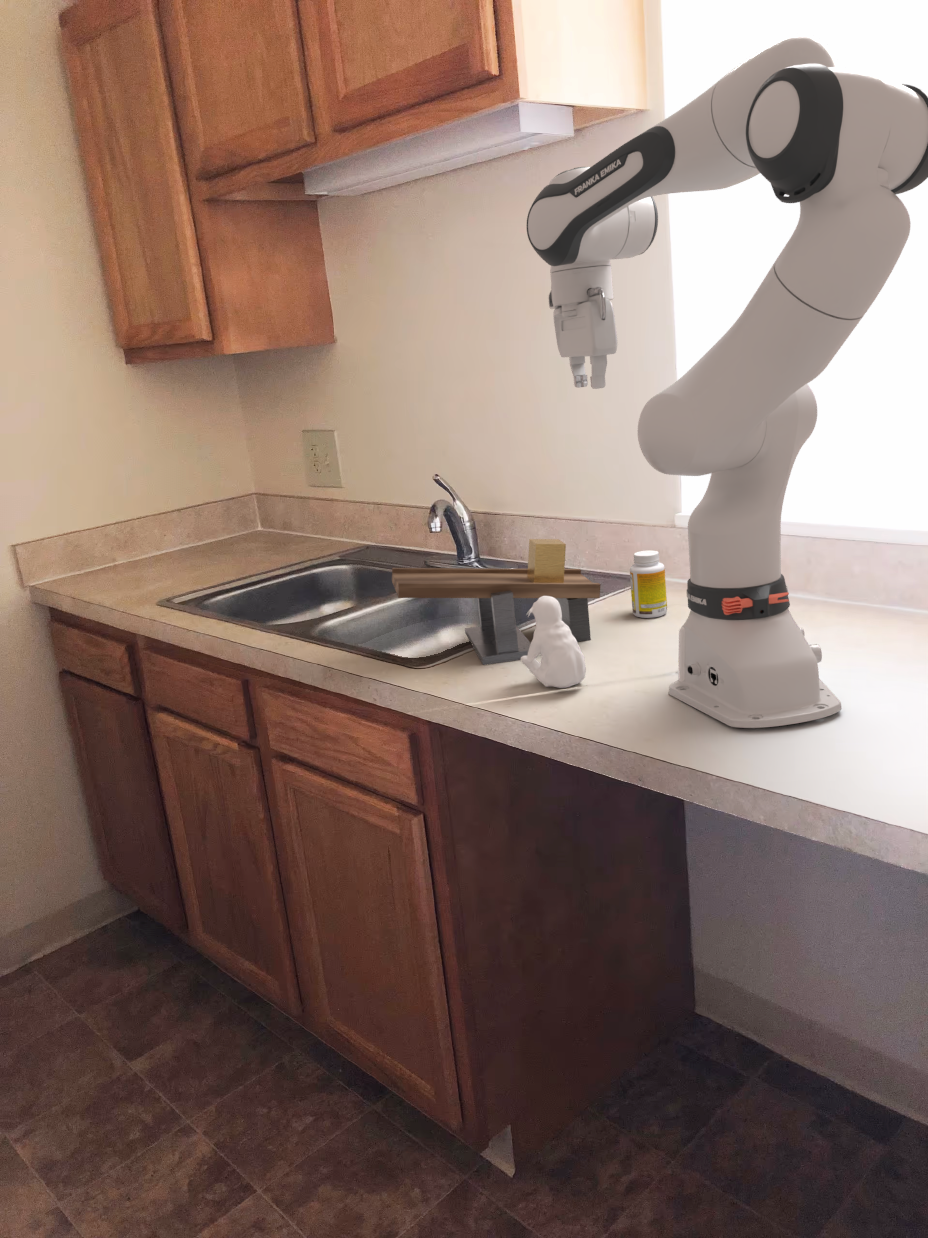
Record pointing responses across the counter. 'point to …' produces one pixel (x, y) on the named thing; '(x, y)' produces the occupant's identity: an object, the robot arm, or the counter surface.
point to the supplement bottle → (648, 585)
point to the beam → (487, 583)
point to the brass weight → (546, 560)
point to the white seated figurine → (554, 647)
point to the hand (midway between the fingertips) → (589, 387)
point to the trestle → (505, 639)
